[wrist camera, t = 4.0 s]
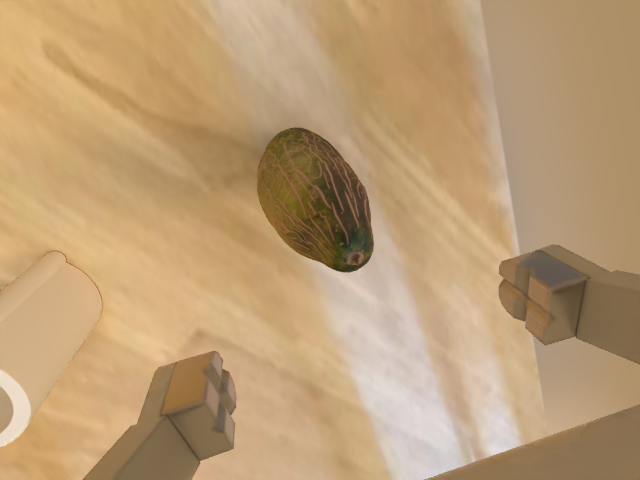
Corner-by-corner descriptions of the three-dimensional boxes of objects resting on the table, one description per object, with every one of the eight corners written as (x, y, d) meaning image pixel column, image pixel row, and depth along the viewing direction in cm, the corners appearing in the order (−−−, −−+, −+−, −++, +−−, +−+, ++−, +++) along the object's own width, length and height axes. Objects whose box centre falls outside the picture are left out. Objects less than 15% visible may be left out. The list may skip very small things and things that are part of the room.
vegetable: (274, 196, 32) (296, 336, 14) (242, 136, 29) (222, 217, 11) (330, 170, 32) (423, 278, 14) (304, 107, 29) (380, 143, 11)
